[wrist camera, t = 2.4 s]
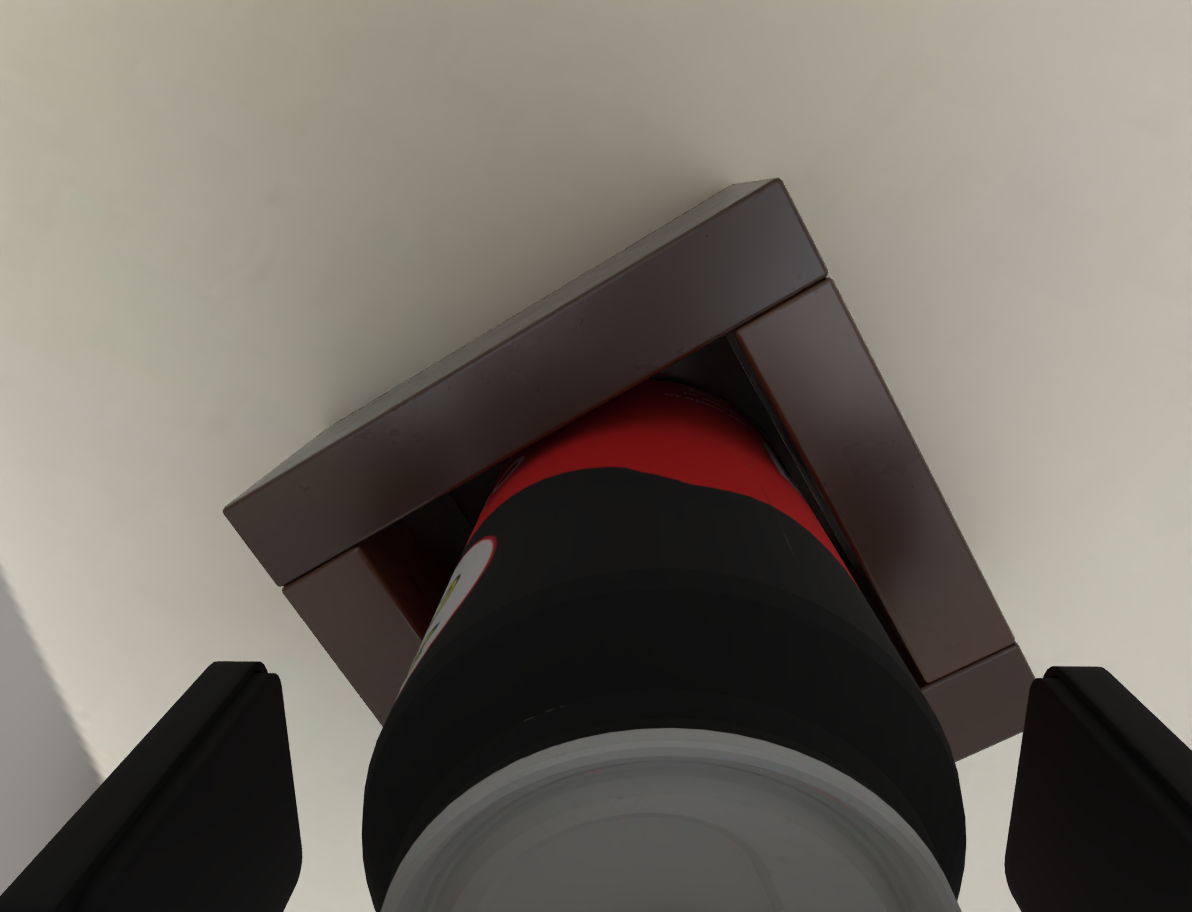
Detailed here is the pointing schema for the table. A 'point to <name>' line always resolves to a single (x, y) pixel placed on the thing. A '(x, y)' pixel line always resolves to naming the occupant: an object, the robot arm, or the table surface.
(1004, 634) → the can holder
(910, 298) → the table surface
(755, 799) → the beverage can
